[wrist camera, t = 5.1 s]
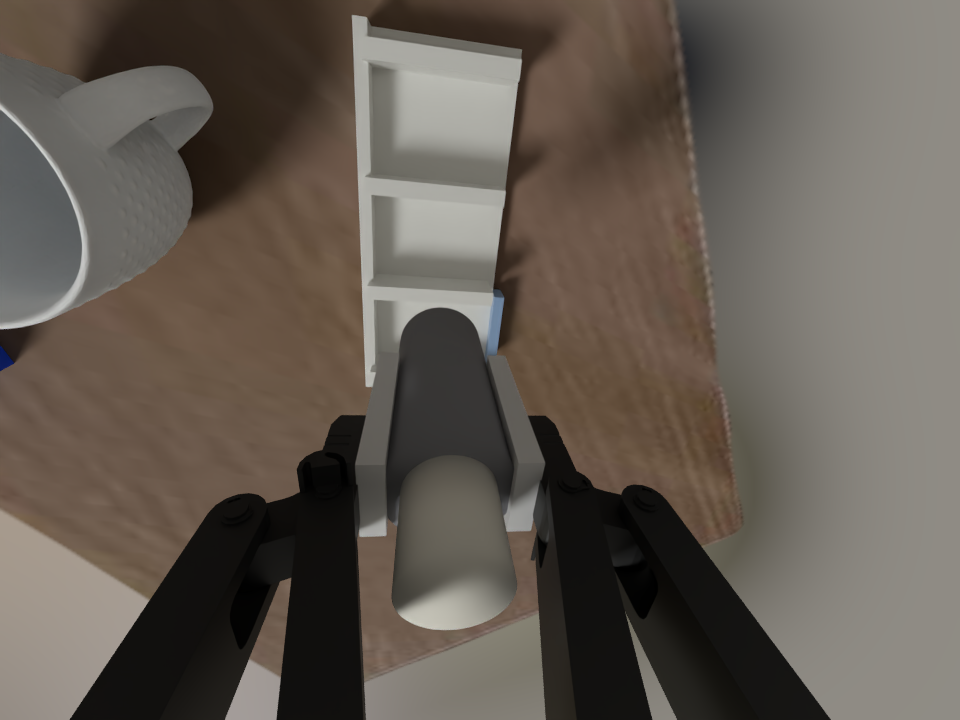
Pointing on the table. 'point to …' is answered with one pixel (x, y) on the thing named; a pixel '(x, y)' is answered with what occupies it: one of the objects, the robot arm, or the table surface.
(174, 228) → the mug
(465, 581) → the two-tone capped cylinder
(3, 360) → the bracket
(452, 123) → the white compartment tray
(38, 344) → the table surface
